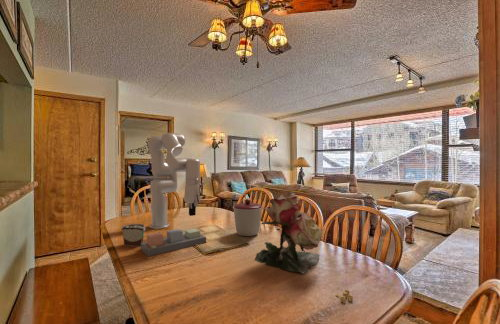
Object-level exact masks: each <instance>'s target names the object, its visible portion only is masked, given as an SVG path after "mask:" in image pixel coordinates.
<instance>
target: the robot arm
mask: <svg viewBox="0 0 500 324" xmlns="http://www.w3.org/2000/svg"><path fill="white" fill-rule="evenodd" d="M185 144H186V138H185V136H184V135H183V134H182V133H177V132H176V133H175V132H165V133H163V134H162V135H153V136H151V137H149V138H148V142H147V147H148V151H149V154H150V162H151V173H152V176H153V177H156V178H155V179H152V180H151V182H150V183H149V187H150V188H149V189H150V194H151V223H150V224H149V227H148V228H150V229H153V230H157V229H158V230H159V229H166V228H168V227H170V223H169V222H168V199H167V197H166V196H165V193H167V194H168V193H174V192H176V191H177V190H178V173H181V172H185V186H184V196H183V197H184V199H183V201H184V202H185V203H187V204H188V216H190V217H193V216H194V217H195V216H196V210H197V207H198V206H199V203H200V201H201V200H200V199H201V195H200V184H201V182H200V180H201V178H200V177H201V161H200V159H197V158H187V157H185V158H184V157H183V158H182V157H181V158H179V157H178V156H180V155H181V154H182V152H183V149H184V148H183V147H184V145H185ZM162 150H167V153H166V155H165V154H164V152H163V151H162ZM177 157H178V158H177ZM157 177H158V178H157ZM161 177H163V178H161ZM164 177H167V178H164Z"/></svg>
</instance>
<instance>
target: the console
mask: <svg viewBox="0 0 500 324" xmlns="http://www.w3.org/2000/svg"><path fill="white" fill-rule="evenodd" d="M204 242H206V243H207V236H205V235H203V234H201V233H200V237H197V238H192V239H188V238H187V237H185V233H183V241H178V242H174V243H170V242H168V241H167V237H163V245H160V246H156V245H153V246H151V248H150V247H149V246H148V245H147V241H145V242H144V241H143V243H141V246H140V250H141V251H142V252H143V253H144V254H145V255H146V256H147V257H152V256H156V255H159V254H160V255H161V254H165V253H169V252H173V251H176V250H180V249H186V248H190V247H193V246H197V245H196V244H198V245H201V244H200V243H202V244H205V243H204Z"/></svg>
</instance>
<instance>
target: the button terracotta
mask: <svg viewBox="0 0 500 324" xmlns="http://www.w3.org/2000/svg"><path fill="white" fill-rule="evenodd" d="M163 238H164V235H163V234H162V233H161V232H154V233H149V234H146V242H147V245H148V246H149V247H150V248H151V246H153V245H156V246H160V245H163Z"/></svg>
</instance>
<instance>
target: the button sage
mask: <svg viewBox="0 0 500 324" xmlns="http://www.w3.org/2000/svg"><path fill="white" fill-rule="evenodd" d="M184 234H185V237H187V238H188V239H192V238H197V237H200V234H201V230H199V229H197V228H190V229H185V230H184Z"/></svg>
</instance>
